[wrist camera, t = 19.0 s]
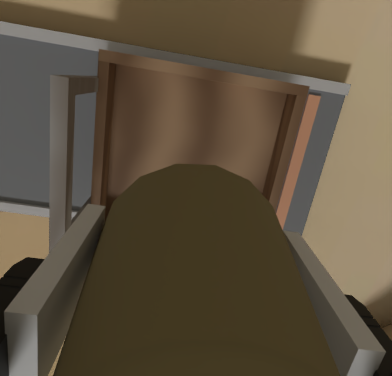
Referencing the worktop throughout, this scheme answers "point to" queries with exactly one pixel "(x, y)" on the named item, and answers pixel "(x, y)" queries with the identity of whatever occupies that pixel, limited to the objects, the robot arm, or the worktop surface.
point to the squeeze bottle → (193, 286)
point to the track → (85, 119)
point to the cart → (169, 127)
